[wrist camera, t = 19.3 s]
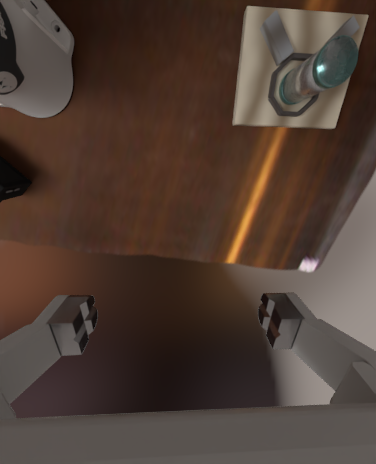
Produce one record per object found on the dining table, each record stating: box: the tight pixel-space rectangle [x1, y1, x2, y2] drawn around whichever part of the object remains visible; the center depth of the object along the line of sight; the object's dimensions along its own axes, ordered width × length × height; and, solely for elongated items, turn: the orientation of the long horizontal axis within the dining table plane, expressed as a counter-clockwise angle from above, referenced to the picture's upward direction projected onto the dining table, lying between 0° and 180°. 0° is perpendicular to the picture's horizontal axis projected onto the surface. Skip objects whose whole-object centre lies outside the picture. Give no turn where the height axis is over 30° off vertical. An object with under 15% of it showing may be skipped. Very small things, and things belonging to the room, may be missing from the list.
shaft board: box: [232, 6, 369, 129], centre depth 32 cm, size 20×16×4 cm
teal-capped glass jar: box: [279, 35, 358, 105], centre depth 28 cm, size 5×5×10 cm
